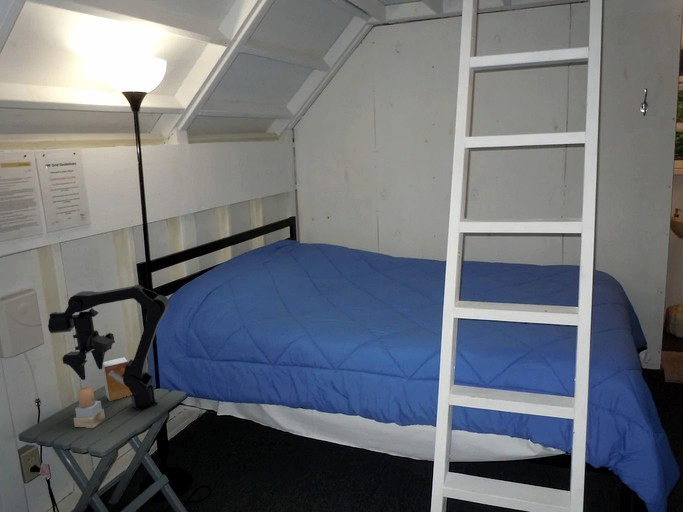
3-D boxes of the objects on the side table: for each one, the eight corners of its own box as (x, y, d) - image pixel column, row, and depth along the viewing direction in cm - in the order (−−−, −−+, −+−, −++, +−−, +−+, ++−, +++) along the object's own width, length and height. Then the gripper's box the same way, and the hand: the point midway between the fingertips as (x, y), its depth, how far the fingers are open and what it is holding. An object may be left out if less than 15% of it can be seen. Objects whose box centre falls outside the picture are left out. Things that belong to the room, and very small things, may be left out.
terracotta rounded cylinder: (91, 400, 180) (89, 385, 179) (97, 404, 177) (95, 389, 176) (77, 404, 177) (75, 390, 176) (82, 409, 174) (80, 394, 173)
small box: (109, 402, 194) (104, 367, 192) (106, 396, 199) (100, 362, 197) (133, 395, 198) (128, 360, 196) (129, 390, 204) (124, 356, 201)
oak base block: (87, 419, 182) (85, 409, 181) (105, 419, 181) (103, 409, 180) (75, 428, 176) (73, 418, 175) (93, 428, 175) (91, 418, 174)
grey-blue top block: (86, 409, 181) (84, 401, 180) (101, 409, 180) (100, 400, 180) (76, 417, 176) (75, 408, 175) (92, 417, 175) (91, 408, 174)
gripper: (89, 338, 172) (96, 385, 175) (122, 321, 190) (129, 363, 193) (57, 339, 174) (65, 385, 177) (93, 321, 192) (100, 364, 195)
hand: (92, 374), depth 185 cm, fingers open, 9 cm apart
